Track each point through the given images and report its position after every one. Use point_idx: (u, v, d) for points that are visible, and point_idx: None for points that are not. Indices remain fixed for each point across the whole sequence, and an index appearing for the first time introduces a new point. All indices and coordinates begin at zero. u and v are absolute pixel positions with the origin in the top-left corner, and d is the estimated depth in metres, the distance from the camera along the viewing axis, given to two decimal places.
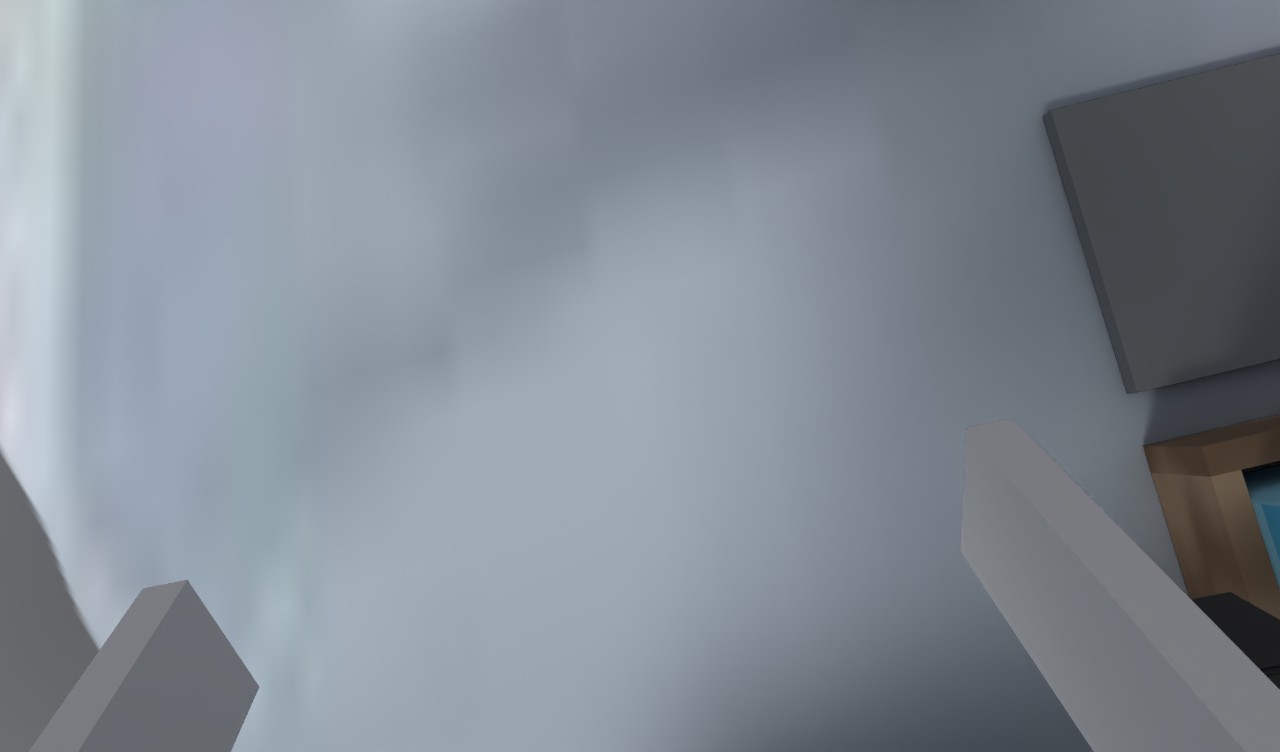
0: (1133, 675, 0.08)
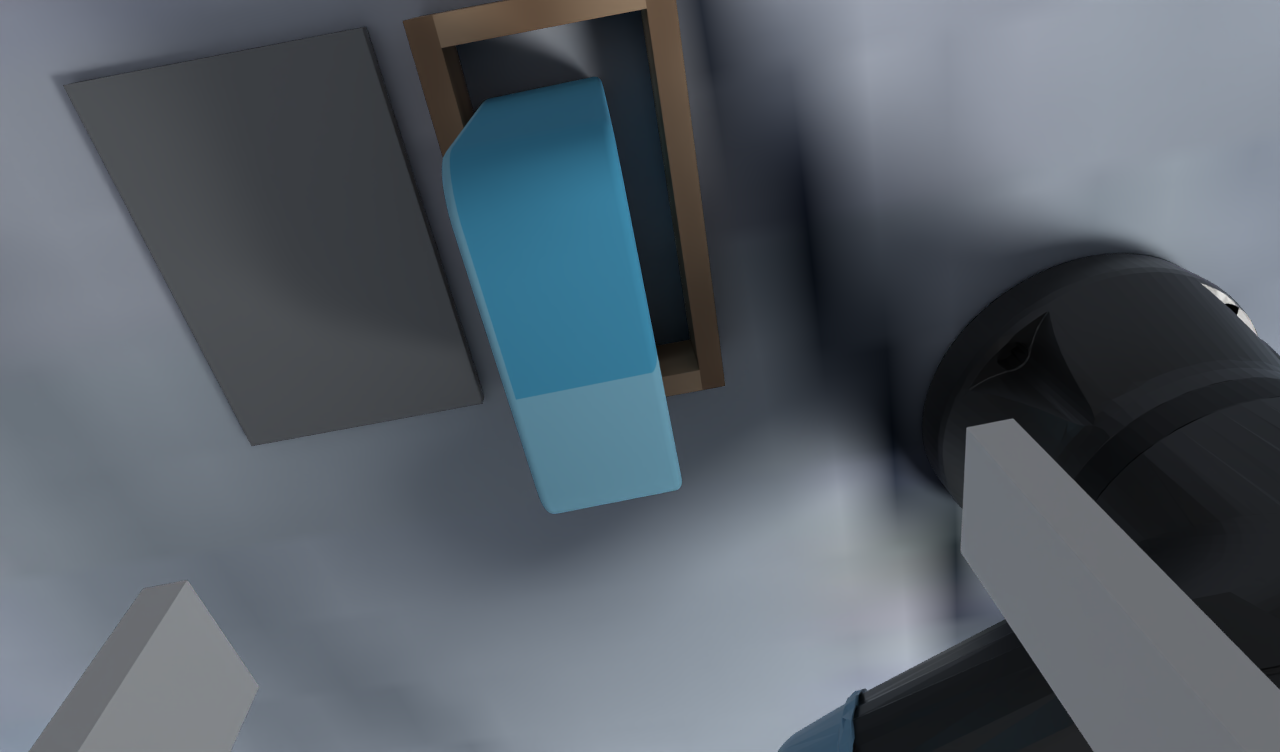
0: (1133, 675, 0.08)
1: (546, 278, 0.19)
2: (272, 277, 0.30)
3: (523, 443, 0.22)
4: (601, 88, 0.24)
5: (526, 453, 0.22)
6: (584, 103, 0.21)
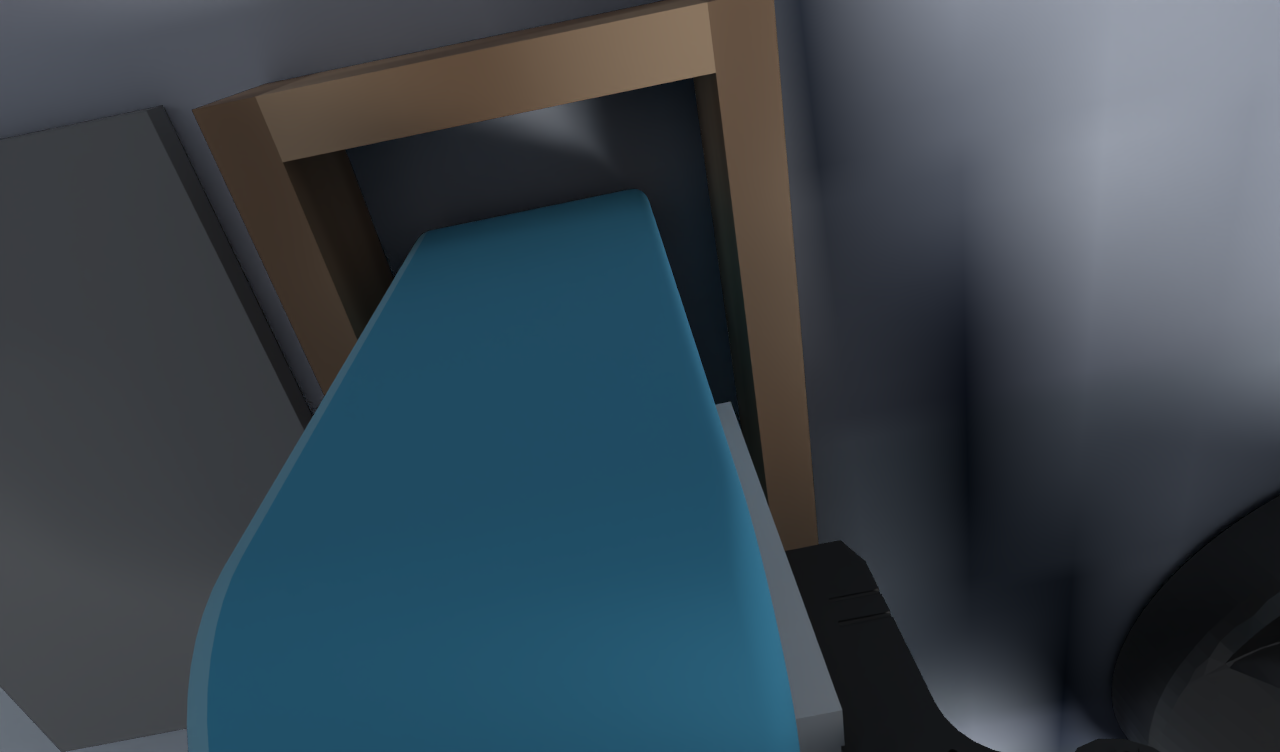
0: None
1: None
2: (50, 527, 0.17)
3: None
4: (658, 240, 0.11)
5: None
6: (634, 327, 0.09)
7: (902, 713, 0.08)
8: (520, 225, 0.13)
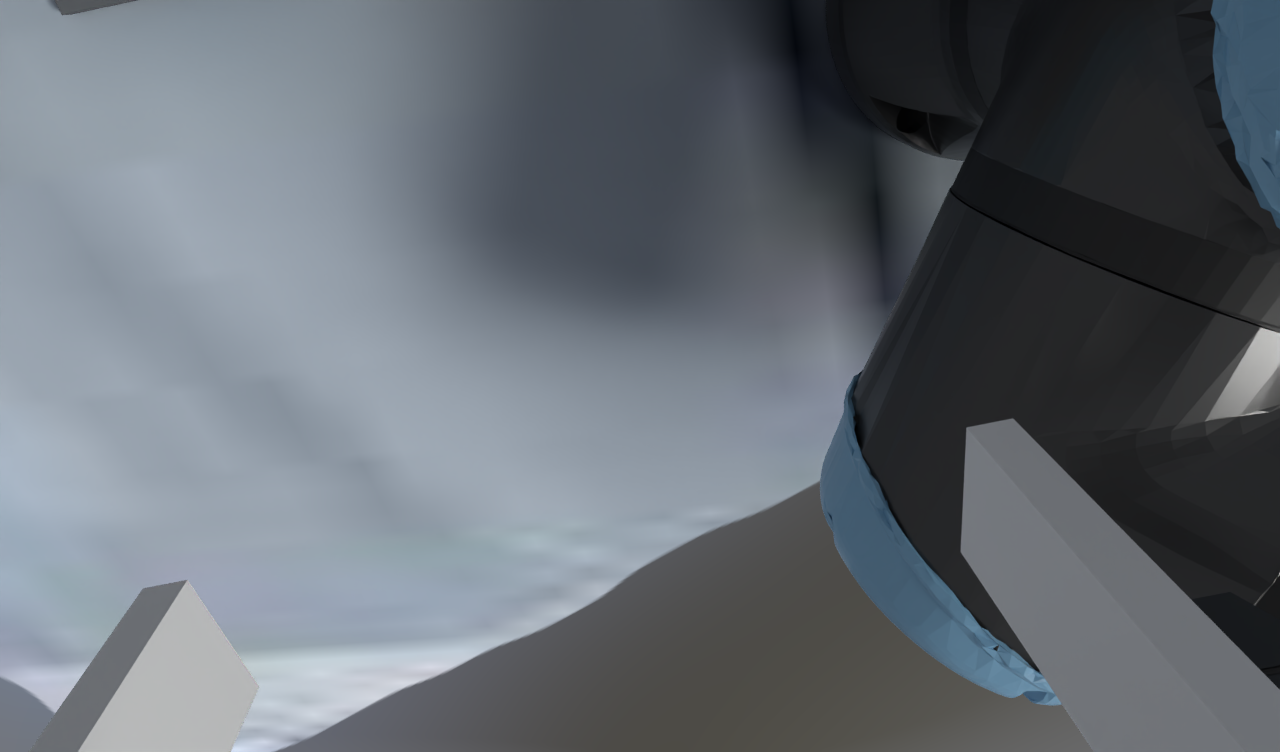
0: (1133, 675, 0.08)
1: None
2: None
3: None
4: None
5: None
6: None
7: None
8: None
